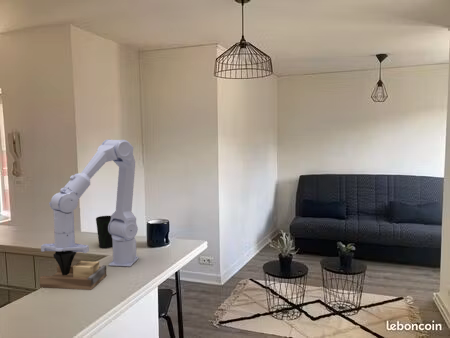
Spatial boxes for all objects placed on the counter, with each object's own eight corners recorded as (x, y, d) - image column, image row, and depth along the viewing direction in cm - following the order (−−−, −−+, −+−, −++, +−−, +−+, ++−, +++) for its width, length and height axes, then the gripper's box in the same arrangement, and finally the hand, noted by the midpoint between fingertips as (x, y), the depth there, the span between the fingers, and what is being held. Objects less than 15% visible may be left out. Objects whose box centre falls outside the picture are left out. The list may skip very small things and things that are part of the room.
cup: (94, 245, 153) (93, 217, 152) (112, 242, 158) (111, 214, 157) (100, 250, 147) (99, 220, 146) (119, 247, 152) (118, 218, 151)
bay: (59, 273, 123) (59, 263, 122) (106, 275, 121) (106, 265, 121) (40, 287, 112) (39, 276, 111) (91, 289, 110) (90, 278, 110)
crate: (81, 274, 119) (81, 260, 118) (99, 275, 118) (99, 261, 118) (73, 281, 114) (72, 266, 113) (92, 282, 113) (91, 267, 113)
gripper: (34, 234, 112) (36, 277, 113) (80, 235, 110) (82, 279, 112) (47, 228, 119) (49, 269, 120) (91, 229, 117) (92, 271, 119)
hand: (65, 274), depth 116 cm, fingers closed
